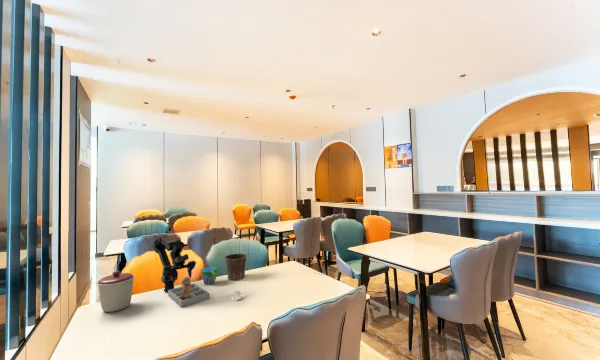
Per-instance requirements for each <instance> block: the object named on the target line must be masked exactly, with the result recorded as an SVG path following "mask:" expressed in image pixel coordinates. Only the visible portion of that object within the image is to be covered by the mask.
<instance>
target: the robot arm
mask: <svg viewBox="0 0 600 360" xmlns="http://www.w3.org/2000/svg"><path fill="white" fill-rule="evenodd" d="M185 246H186V245H185V242H183V241H181V239H178V240H177V239H176V240H172V239H170V238H168V236H166V235H165V236H164V235H163V236H159V237H158V238H157V239H155V240H154V241H153V243H152V249H153V250H154V252H155V253H156V254H157V255H158V256H159V260H160V262H161V265H162V271H161V278H160V280H161V283H163V284H164V291H165V293H168V290H171V289H175V288H176V287H175V283H176V281H177V280H178V276H179V272H178V271H179V270H183V269H187V273H188V277H189V278H190V279H192V274H193V273H192V271H193V270H194V269H195V267H196V265H197V262H196V261H195V260H190V261H188V260H189V253H188V254H187V253H186V254H183V255H182V254H181V253H182V252H183V250H184V247H185ZM167 252H170V253H169V254H170V255H168V254H167ZM168 256H169V257H170V258H169V257H168ZM170 259H171V260H170ZM170 261H171V262H170ZM186 261H187V264H185V263H186ZM164 291H163V292H164Z"/></svg>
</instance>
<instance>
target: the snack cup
mask: <svg viewBox="0 0 600 360" xmlns="http://www.w3.org/2000/svg"><path fill="white" fill-rule="evenodd" d="M217 270H218V268H217V267H216V266H210V267H209V266H208V267H204V268H202V269H201V270H200V273H201V277H202V281H203V284H204V285H206V286H207V285H208V286H210V285H212V284H215V283H216V280H217V277H216V275H217Z"/></svg>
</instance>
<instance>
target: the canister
mask: <svg viewBox="0 0 600 360" xmlns="http://www.w3.org/2000/svg"><path fill="white" fill-rule="evenodd" d="M135 277H136V275H135V274H132V273H130V272H122V273H121V271H119V270H115V271H113V272H112V274H110V275H107V276H105V277H102V278H100V279H99V280H98V281H96V285H97V287H98V294H99V301H100V307H101V310H102V311H103V312H106V313H113V312H118V311H121V310H124V309H126V308H127V307H129V306H130V304H131V301H132V296H133V288H134V279H135Z"/></svg>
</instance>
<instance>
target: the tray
mask: <svg viewBox="0 0 600 360" xmlns="http://www.w3.org/2000/svg"><path fill="white" fill-rule="evenodd" d="M190 284H191V298H189V299H186V300H182V286H179V287H174V288H175V289H171V290H168V292H167V296H168V297H169V298H170V299H171V300H172V301H173V302H174V301H175V302H174V303H176V305H178V306H179V307H180V308H181V309H182V308H185V307H188V306H192V305H195V304H197V303H201V302H203V301H206V300H210V298H211V297H210V292H209V291H207V290H205V289H204V288H202V287H201V286H199V285H198V284H196V283H195V282H194V283H190Z"/></svg>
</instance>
